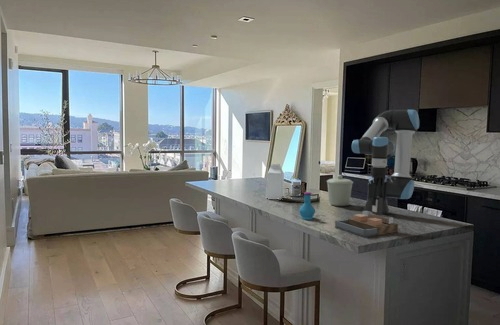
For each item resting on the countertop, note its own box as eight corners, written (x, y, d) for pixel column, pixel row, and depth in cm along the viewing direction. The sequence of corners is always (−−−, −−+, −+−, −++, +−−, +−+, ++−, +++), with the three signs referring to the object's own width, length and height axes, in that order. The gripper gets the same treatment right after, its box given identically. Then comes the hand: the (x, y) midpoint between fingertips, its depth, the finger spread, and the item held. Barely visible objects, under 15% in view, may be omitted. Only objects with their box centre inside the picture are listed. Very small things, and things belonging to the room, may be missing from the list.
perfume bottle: (313, 216, 226) (314, 191, 224) (316, 219, 216) (317, 193, 215) (297, 216, 225) (298, 191, 224) (300, 219, 216) (301, 193, 215)
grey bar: (366, 216, 208) (367, 194, 207) (392, 223, 192) (393, 199, 191) (362, 216, 206) (363, 194, 205) (388, 223, 190) (389, 200, 189)
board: (368, 223, 210) (368, 216, 210) (397, 231, 193) (398, 224, 192) (347, 226, 203) (347, 218, 203) (376, 235, 185) (376, 227, 185)
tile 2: (374, 222, 195) (374, 217, 195) (382, 224, 190) (382, 219, 190) (367, 223, 192) (367, 218, 192) (375, 225, 188) (375, 220, 188)
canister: (346, 208, 250) (347, 176, 248) (321, 205, 261) (322, 174, 259) (356, 204, 264) (357, 174, 263) (332, 201, 275) (333, 172, 274)
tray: (346, 226, 203) (346, 219, 203) (376, 235, 185) (377, 228, 185) (335, 227, 199) (335, 221, 199) (364, 237, 181) (365, 230, 181)
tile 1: (360, 218, 204) (360, 214, 203) (367, 220, 199) (367, 215, 199) (353, 219, 201) (353, 214, 201) (360, 221, 197) (360, 216, 197)
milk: (265, 199, 281) (265, 164, 279) (269, 196, 292) (269, 163, 290) (281, 200, 277) (281, 164, 275) (284, 197, 288) (285, 163, 286)
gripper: (373, 167, 190) (371, 214, 191) (395, 166, 197) (393, 211, 199) (362, 166, 196) (360, 211, 198) (384, 165, 204) (382, 208, 206)
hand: (377, 211), depth 199 cm, fingers closed on grey bar, 3 cm apart
